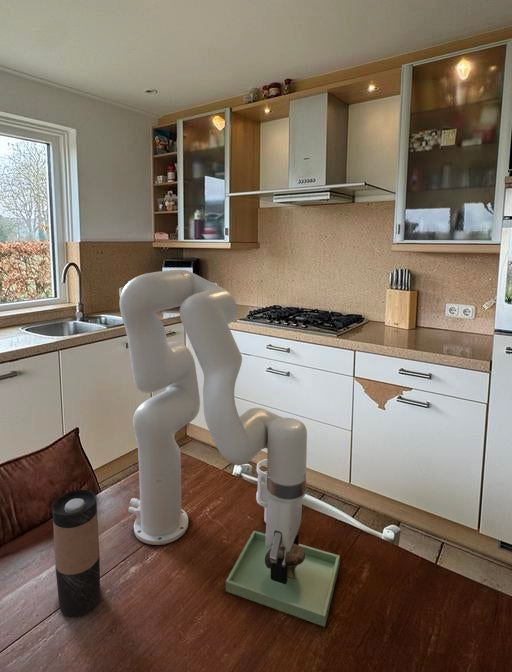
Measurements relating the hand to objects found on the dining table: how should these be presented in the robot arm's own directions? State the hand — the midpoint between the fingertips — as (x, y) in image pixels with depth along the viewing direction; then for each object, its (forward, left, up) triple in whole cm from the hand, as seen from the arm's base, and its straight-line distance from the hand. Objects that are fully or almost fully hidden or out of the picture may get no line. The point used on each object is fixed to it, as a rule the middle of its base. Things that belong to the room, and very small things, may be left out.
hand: (285, 565), depth 84 cm
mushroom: (0, 0, -2) cm, 2 cm away
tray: (0, 0, -3) cm, 3 cm away
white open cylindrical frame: (-8, +15, -3) cm, 17 cm away
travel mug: (-34, -20, -3) cm, 40 cm away
